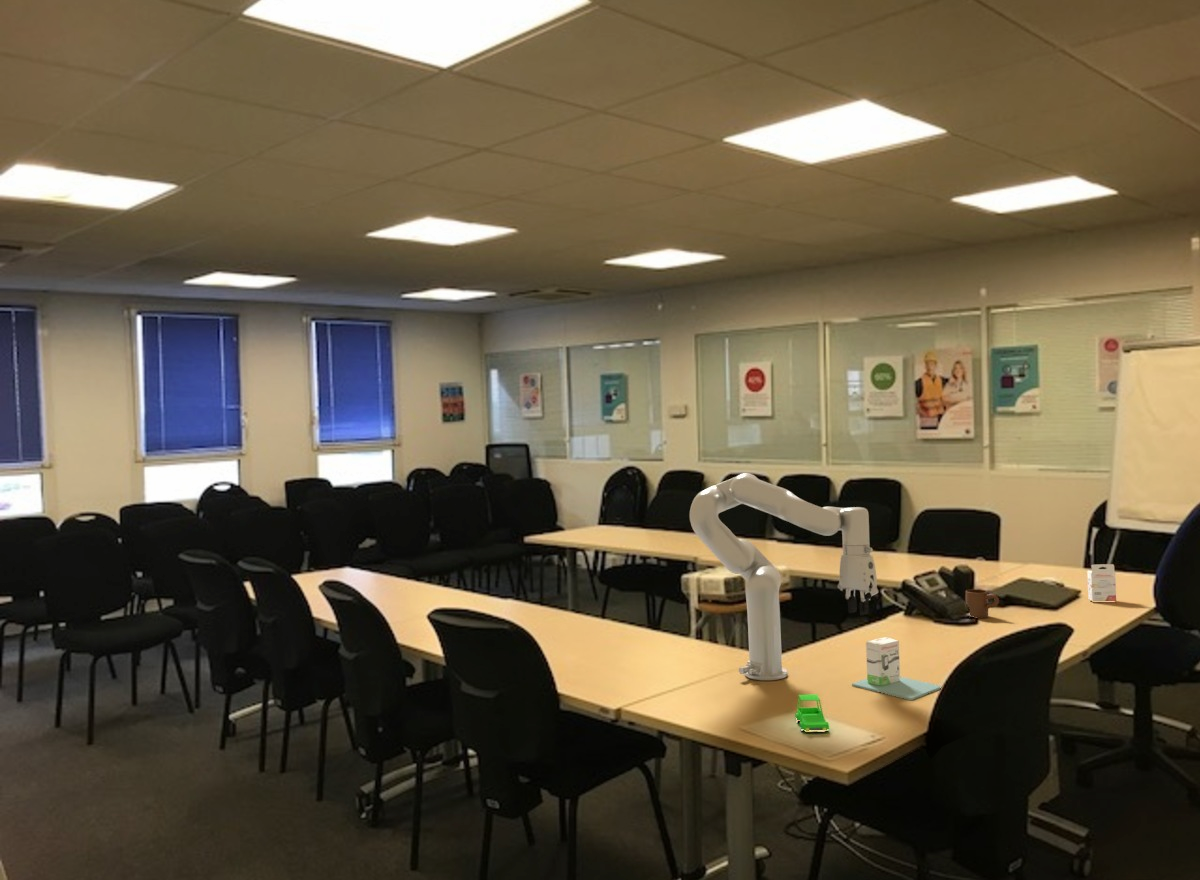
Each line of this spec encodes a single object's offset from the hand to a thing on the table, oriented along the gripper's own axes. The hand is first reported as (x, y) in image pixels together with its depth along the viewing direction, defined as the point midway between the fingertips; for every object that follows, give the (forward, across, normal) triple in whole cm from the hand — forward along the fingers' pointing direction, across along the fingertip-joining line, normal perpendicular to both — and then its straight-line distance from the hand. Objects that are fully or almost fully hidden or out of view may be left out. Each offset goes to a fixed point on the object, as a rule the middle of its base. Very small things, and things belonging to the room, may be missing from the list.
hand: (858, 612), depth 267 cm
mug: (+19, +14, -92) cm, 95 cm away
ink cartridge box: (+19, -5, -144) cm, 145 cm away
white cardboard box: (+19, -8, 0) cm, 20 cm away
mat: (+19, -12, 0) cm, 23 cm away
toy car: (+20, -16, +41) cm, 48 cm away
